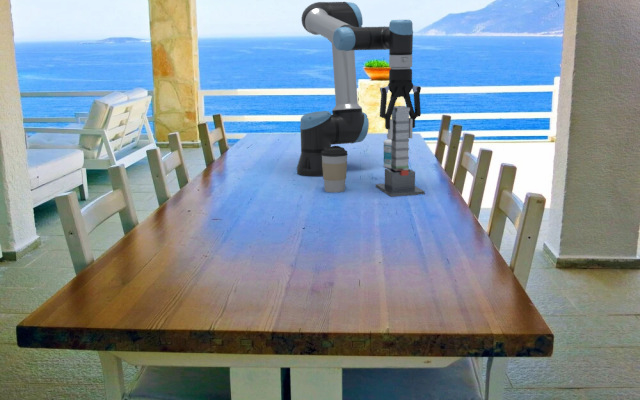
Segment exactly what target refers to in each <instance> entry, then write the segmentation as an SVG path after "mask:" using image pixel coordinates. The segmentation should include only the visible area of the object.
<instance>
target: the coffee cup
mask: <svg viewBox="0 0 640 400" xmlns="http://www.w3.org/2000/svg"><path fill="white" fill-rule="evenodd" d="M321 153H322V154H321V155H322V168H323V176H322V178H323V181H324V182H323V184H324V192H327V193H342V192H346V179H347V173H348V172H347V171H348V169H347V168H348V151H347V150H346V149H345V147H342V146H340V145H331V147H327V148H324V151H322V152H321Z"/></svg>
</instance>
